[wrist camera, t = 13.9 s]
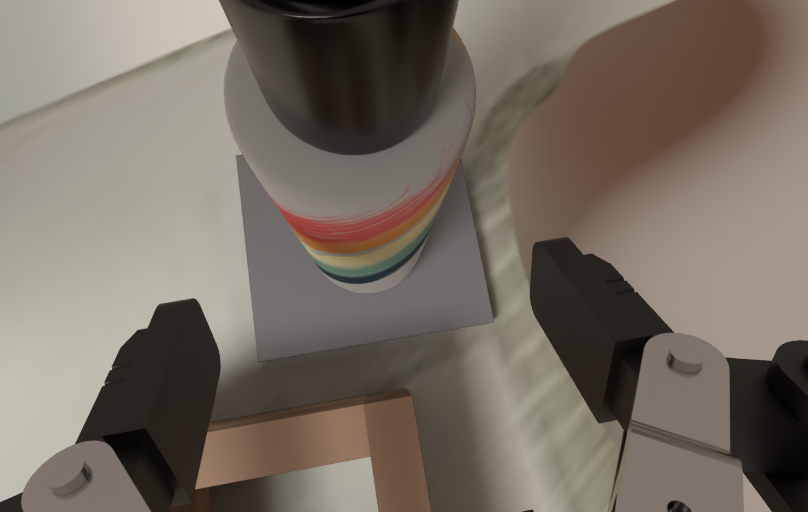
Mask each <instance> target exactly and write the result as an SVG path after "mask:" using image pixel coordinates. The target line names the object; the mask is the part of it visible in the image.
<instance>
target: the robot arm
mask: <svg viewBox="0 0 808 512" xmlns="http://www.w3.org/2000/svg"><path fill="white" fill-rule="evenodd" d="M530 301H531V306H532V310H533V313H534V315H535V317H536V319H537V321H538V322H539V324H540V326H541V327H542V329H543V331H544V332H545V334H546V336H547V338H548V339H549V341H550V343H551V344H552V346H553V348H554V349H555V351H556V353H557V354H558V356H559V358H560V359H561V361H562V363H563V365H564V366H565V368H566V370H567V371H568V373H569V375H570V376H571V378H572V380H573V381H574V383H575V385H576V386H577V388H578V390H579V392H580V393H581V395H582V397H583V398H584V400H585V402H586V403H587V405H588V407H589V408H590V410H591V412H592V413H593V415H594V417H595V418H596V420H597V422H598V424H599V423H604V422H609V421H614V420H618V422H619V423H620V425H621V426H622V428H623V434H622V438H621V443H620V448H619V453H618V458H617V464H616V469H615V474H614V479H613V484H612V490H611V495H610V500H609V505H608V510H607V512H744V510H743V509H744V508H743V473H744V474H745V476H746V477H747V478H748V480H749V481H750V482H751V484H752V485H753V486H754V488H755V489H756V490H757V492H758V493H759V494H760V496H761V497H762V499H763V500H764V501H765V503H766V504H767V505H768V507H769V508H770V510H771V511H772V512H808V341H802V340H799V341H791V342H787V343H784V344H782V345H781V346H780V347H779V348H778V349H777V351H776V353H775V355H774V357H773V359H772V361H766V360H751V359H736V358H725V357H724V356H723V354H721V352H720V351H719V350H717V349H716V348H715V347H714V346H712V345H711V344H709V343H707V342H706V341H704V340H701V339H699V338H696V337H694V336H690V335H686V334H681V333H674V332H673V331H672V330H671V329H670V328H669V327H668V325H667V324H666V323H665V322H664V321H663V320H662V319H661V318H660V317H659V316H658V315H657V313H656V312H655V311H654V310H653V309H652V308H651V307H650V306H649V305H648V304H647V303H646V301H644V299H643V298H642V297H641V296H640V295H639V294H638V293H637V292H634V289H633V288H632V286H631V285H630V284H629V283H628V282H627V281H624V278H623V277H622V276H621V274H620V273H619V272H618V271H617V270H616V269H615V268H614V267H613V266H612V265H611V264H610V263H608V262H606V261H604V260H603V259H601V258H599V257H597V256H595V255H593V254H586V255H583V254H582V253H581V252H580V250H579V249H578V248H577V247H576V246H575V245H574V243H573V242H572V241H571V240H570V239H569V238H567V237H564V238H558V239H552V240H546V241H540V242H536V243H535V244H534V246H533V251H532V266H531V282H530ZM220 368H221V364H220V354H219V350H218V347H217V344H216V342H215V339H214V337H213V335H212V332H211V330H210V328H209V325H208V323H207V321H206V318H205V316H204V313H203V311H202V309H201V306H200V304H199V303H198V301H197V300H196V299H194V298H193V299H187V300H181V301H175V302H169V303H163V304H159V305H158V306H157V308H156V310H155V312H154V315H153V317H152V319H151V322H150V324H149V326H148V328H147V329H141V330H137V331H136V332H135V333H134V335H133V336H132V337H131V338H130V339H129V340H128V341H127V342H126V343H125V344H124V345H123V346H122V347H121V348H120V350H119V352H118V354H117V357H116V359H115V361H114V363H113V365H112V370H110V371H109V373H108V376H107V378H106V380H105V386H102V388H101V390H100V392H99V395H98V397H97V399H96V401H95V403H94V405H93V407H92V409H91V412H90V414H89V416H88V418H87V420H86V422H85V424H84V426H83V428H82V431H81V433H80V435H79V437H78V439H77V441H76V443H75V445H72V446H70V447H68V448H66V449H64V450H62V451H60V452H58V453H57V454H55V455H54V456H53V457H51V458H50V459H49V460H47V461H46V462H45V463H44V464H43V465H42V466H41V467H40V468H39V469H38V470H37V471H36V472H35V473H34V474H33V475H32V477H31V478H30V480H29V481H28V483H27V484H26V486H25V488H24V491H23V492H22V493H20V494H18V495H16V496H13V497H11V498H9V499H7V500H4V501H2V502H0V512H170V509H171V507H175V506H180V505H185V504H190V503H192V501H193V497H194V492H195V487H196V483H197V478H198V473H199V469H200V464H201V459H202V455H203V450H204V445H205V441H206V436H207V432H208V427H209V422H210V418H211V413H212V408H213V404H214V399H215V394H216V390H217V385H218V380H219V376H220ZM742 472H743V473H742ZM524 512H534V511H533V510H528V511H524Z"/></svg>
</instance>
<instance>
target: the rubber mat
mask: <svg viewBox="0 0 808 512" xmlns="http://www.w3.org/2000/svg"><path fill="white" fill-rule="evenodd" d="M236 159H237V168H238V178H239V187H240V196H241V206H242V215H243V224H244V234H245V243H246V253H247V262H248V271H249V281H250V290H251V299H252V309H253V318H254V327H255V337H256V346H257V356H258V362H263V361H269V360H275V359H281V358H287V357H292V356H298V355H304V354H310V353H316V352H322V351H328V350H334V349H340V348H346V347H352V346H357V345H363V344H369V343H375V342H381V341H387V340H393V339H399V338H405V337H411V336H417V335H422V334H428V333H434V332H440V331H446V330H452V329H458V328H464V327H470V326H476V325H482V324H488V323H493V322H494V319H493V315H492V310H491V305H490V300H489V295H488V290H487V285H486V280H485V275H484V270H483V265H482V260H481V256H480V251H479V246H478V241H477V236H476V231H475V226H474V221H473V216H472V211H471V206H470V201H469V196H468V192H467V187H466V182H465V177H464V172H463V167H462V162H461V157H460V160H459V162H458V165H457V167H456V170H455V172H454V175H453V177H452V180H451V182H450V185H449V187H448V189H447V192H446V194H445V197H444V199H443V201H442V204H441V206H440V209H439V211H438V213H437V216H436V218H435V221H434V223H433V226H432V228H431V230H430V233H429V235H428V238H427V240H426V242H425V245H424V247H423V250H422V252H421V254H420V256H419V259H418V261H417V263H416V264H415V266H414V268H413V269H412V270H411V272H410V273H409V274H408V275H407V276H406V277H405V278H404V279H403V280H402V281H401V282H399V283H398V284H397V285H395V286H393V287H391V288H389V289H387V290H384V291H381V292H377V293H357V292H352V291H349V290H346V289H344V288H342V287H340V286H338V285H336V284H335V283H333V282H332V281H331V280H329V279H328V278H327V277H326V276H325V275H324V273H323V272H322V271H321V270H320V269H319V267H318V266H317V265H316V263H315V262H314V260H313V259H312V257H311V256H310V254H309V253H308V251H307V250H306V249H305V247H304V246H303V244H302V243H301V241H300V240H299V238H298V237H297V235H296V234H295V232H294V231H293V229H292V228H291V227H290V225H289V224H288V222H287V221H286V219H285V218H284V216H283V215H282V213H281V212H280V210H279V209H278V207H277V206H276V205H275V203H274V202H273V200H272V199H271V197H270V196H269V194H268V193H267V191H266V190H265V188H264V187H263V185H262V184H261V182H260V181H259V179H258V178H257V176H256V175H255V173H254V172H253V170H252V169H251V167H250V166H249V164H248V163H247V161H246V159H245V158H244V156H243V154H242V155H236Z"/></svg>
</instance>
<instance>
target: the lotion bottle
mask: <svg viewBox="0 0 808 512" xmlns="http://www.w3.org/2000/svg"><path fill="white" fill-rule="evenodd" d="M219 1H220V3H221V6H222V7H223V10H224V12H225V14H226V16H227V19H228V21H229V23H230V25H231V27H232V29H233V32H234V34H235V36H236V38H237V41H236V43H235V45H234V47H233V49H232V52H231V54H230V57H229V60H228V64H227V68H226V72H225V79H224V102H225V109H226V114H227V118H228V122H229V125H230V129H231V132H232V134H233V137H234V139H235V141H236V143H237V145H238V147H239V149H240V150H241V152H242V154H243V156H244V158H245V159H246V161H247V163H248V164H249V166H250V167H251V169H252V170H253V172H254V173H255V175H256V176H257V178H258V179H259V181H260V182H261V184H262V185H263V187H264V188H265V190H266V191H267V193H268V194H269V196H270V197H271V199H272V200H273V202H274V203H275V205H276V206H277V207H278V209H279V210H280V212H281V213H282V215H283V216H284V218H285V219H286V221H287V222H288V224H289V225H290V227H291V228H292V229H293V231H294V232H295V234H296V235H297V237H298V238H299V240H300V241H301V243H302V244H303V246H304V247H305V249H306V250H307V251H308V253H309V254H310V256H311V257H312V259H313V260H314V262H315V263H316V265H317V266H318V267H319V269H320V270H321V271H322V272H323V273H324V275H325V276H326V277H327V278H328V279H329V280H331V281H332V282H333V283H335V284H336V285H338V286H340V287H342V288H344V289H346V290H349V291H352V292H357V293H377V292H381V291H384V290H387V289H389V288H391V287H393V286H395V285H397V284H398V283H399V282H401V281H402V280H403V279H404V278H405V277H406V276H407V275H408V274H409V273H410V272H411V270H412V269H413V268H414V266H415V264H416V263H417V261H418V259H419V256H420V254H421V252H422V250H423V247H424V245H425V242H426V240H427V238H428V235H429V233H430V230H431V228H432V226H433V223H434V221H435V218H436V216H437V213H438V211H439V209H440V206H441V204H442V201H443V199H444V197H445V194H446V192H447V189H448V187H449V185H450V182H451V180H452V177H453V175H454V172H455V170H456V167H457V165H458V162H459V160H460V157H461V155H462V152H463V149H464V147H465V144H466V141H467V139H468V136H469V133H470V130H471V126H472V122H473V118H474V111H475V98H476V87H475V77H474V72H473V67H472V64H471V60H470V57H469V55H468V52H467V50H466V47H465V46H464V44H463V42H462V40H461V38H460V36H459V35H458V34H457V32H456V31H455V29H454V28H453V24H454V19H455V15H456V10H457V6H458V1H459V0H219Z"/></svg>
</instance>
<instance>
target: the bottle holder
mask: <svg viewBox="0 0 808 512" xmlns="http://www.w3.org/2000/svg"><path fill="white" fill-rule="evenodd" d="M370 456H371V462H372V468H373V475H374V482H375V489H376V496H377V503H378V510H379V512H431V508H430V502H429V496H428V490H427V484H426V477H425V471H424V465H423V459H422V453H421V447H420V441H419V435H418V429H417V423H416V417H415V411H414V405H413V399H412V395H411V394H410V393H409V391H408V390H407V389H406V388H403V389H397V390H392V391H386V392H380V393H375V394H369V395H363V396H358V397H352V398H346V399H341V400H335V401H330V402H324V403H318V404H313V405H307V406H301V407H296V408H290V409H285V410H279V411H273V412H268V413H262V414H256V415H251V416H245V417H240V418H234V419H228V420H223V421H217V422H211V423H209V427H208V432H207V436H206V441H205V445H204V450H203V455H202V459H201V464H200V469H199V473H198V478H197V483H196V487H195V492H194V497H193V501H192V503H190V504H185V505H180V506H175V507H171V509H170V512H212V501H211V489H210V487H211V486H216V485H222V484H227V483H232V482H238V481H243V480H248V479H254V478H259V477H264V476H269V475H275V474H280V473H285V472H291V471H296V470H301V469H307V468H312V467H317V466H323V465H328V464H333V463H339V462H344V461H349V460H355V459H360V458H365V457H370Z"/></svg>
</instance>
